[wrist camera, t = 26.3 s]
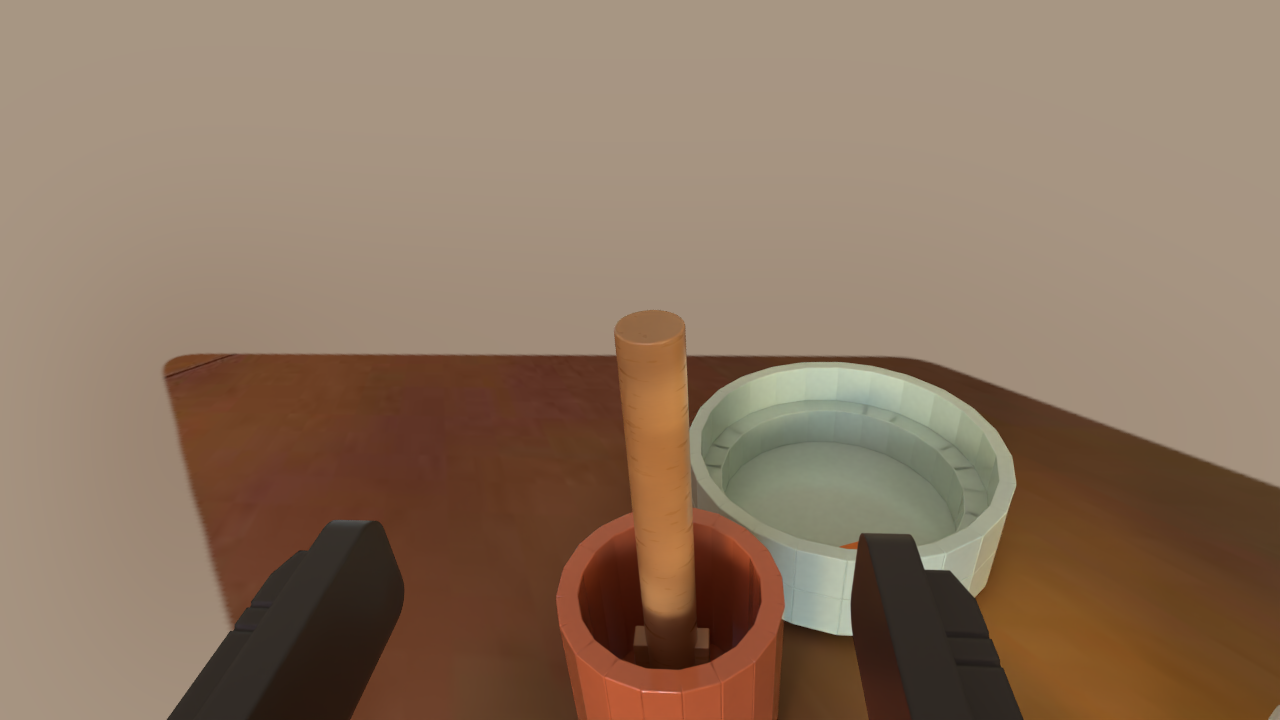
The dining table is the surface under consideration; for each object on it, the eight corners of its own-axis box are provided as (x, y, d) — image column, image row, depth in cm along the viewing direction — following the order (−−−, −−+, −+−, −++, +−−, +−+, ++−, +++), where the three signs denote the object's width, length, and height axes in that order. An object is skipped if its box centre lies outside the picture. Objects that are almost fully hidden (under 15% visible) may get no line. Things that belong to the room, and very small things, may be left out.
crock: (769, 635, 34) (775, 507, 30) (784, 830, 27) (795, 698, 22) (598, 629, 36) (578, 504, 31) (565, 814, 28) (533, 685, 23)
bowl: (941, 431, 48) (956, 360, 44) (1044, 651, 33) (1077, 567, 30) (694, 431, 50) (692, 362, 47) (685, 637, 35) (681, 556, 32)
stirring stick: (711, 684, 32) (702, 308, 21) (711, 730, 30) (700, 342, 19) (644, 681, 32) (603, 310, 22) (640, 726, 30) (592, 344, 20)
